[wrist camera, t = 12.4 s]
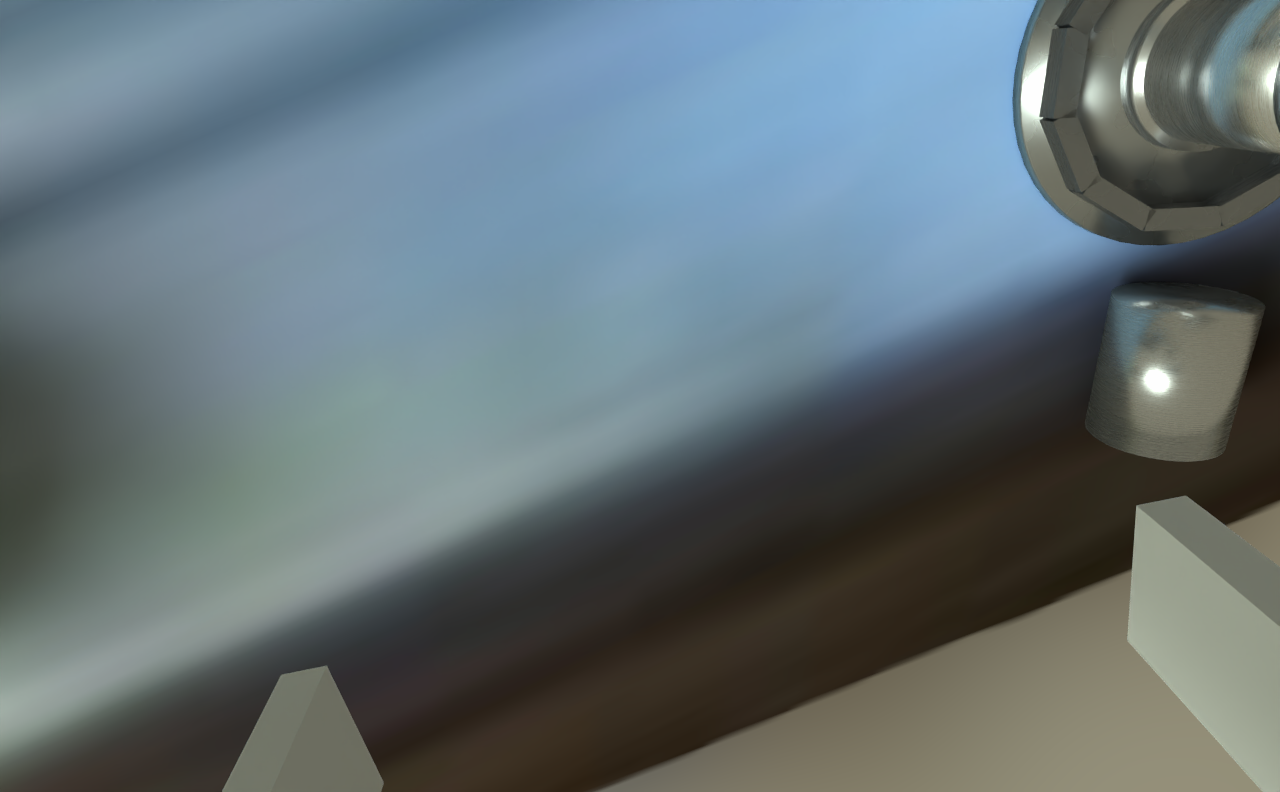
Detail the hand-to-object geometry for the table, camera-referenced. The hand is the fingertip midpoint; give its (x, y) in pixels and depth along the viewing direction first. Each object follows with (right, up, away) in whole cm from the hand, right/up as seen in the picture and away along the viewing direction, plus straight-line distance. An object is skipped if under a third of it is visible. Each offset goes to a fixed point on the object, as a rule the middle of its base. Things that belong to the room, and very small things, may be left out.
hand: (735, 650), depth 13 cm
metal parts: (+24, +15, +24) cm, 37 cm away
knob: (+23, +19, +22) cm, 37 cm away
